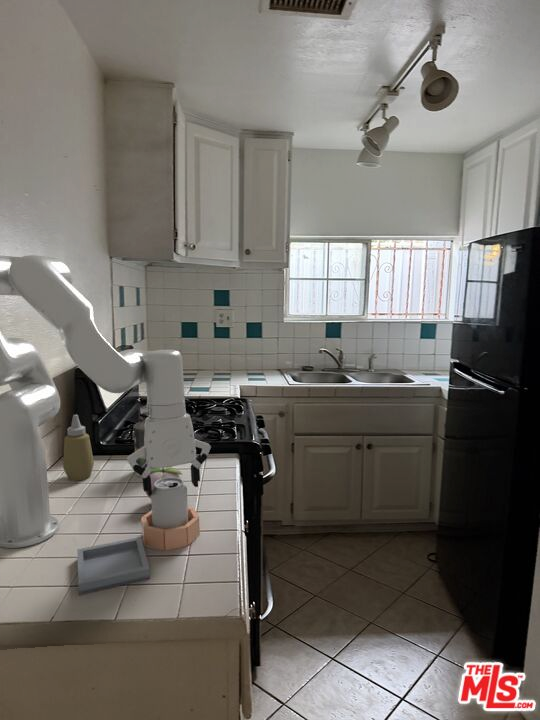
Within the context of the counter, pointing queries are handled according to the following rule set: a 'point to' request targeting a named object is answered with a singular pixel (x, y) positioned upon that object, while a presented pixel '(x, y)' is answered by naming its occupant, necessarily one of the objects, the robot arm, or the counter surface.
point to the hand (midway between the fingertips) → (172, 489)
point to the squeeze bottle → (77, 452)
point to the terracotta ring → (170, 532)
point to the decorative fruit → (163, 475)
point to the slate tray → (111, 565)
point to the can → (169, 503)
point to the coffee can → (140, 442)
